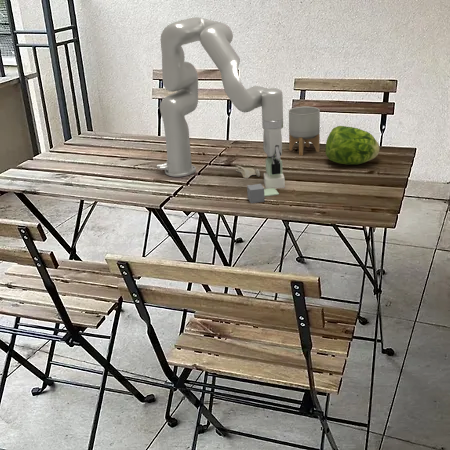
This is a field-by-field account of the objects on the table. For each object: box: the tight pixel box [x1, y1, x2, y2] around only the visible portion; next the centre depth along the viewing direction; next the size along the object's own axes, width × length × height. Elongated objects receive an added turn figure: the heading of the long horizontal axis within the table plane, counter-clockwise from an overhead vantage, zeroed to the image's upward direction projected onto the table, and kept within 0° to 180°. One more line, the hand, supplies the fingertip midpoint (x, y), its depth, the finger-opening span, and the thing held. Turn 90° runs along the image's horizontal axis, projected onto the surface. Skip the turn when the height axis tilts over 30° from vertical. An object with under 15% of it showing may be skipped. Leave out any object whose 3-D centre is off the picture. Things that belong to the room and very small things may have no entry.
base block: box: [263, 172, 286, 189], centre depth 236 cm, size 7×7×4 cm
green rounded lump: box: [325, 125, 381, 166], centre depth 251 cm, size 16×21×15 cm
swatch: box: [264, 188, 280, 198], centre depth 229 cm, size 6×6×1 cm
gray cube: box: [246, 183, 266, 204], centre depth 223 cm, size 5×5×5 cm
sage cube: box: [265, 157, 283, 176], centre depth 233 cm, size 5×5×5 cm
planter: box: [288, 106, 321, 156], centre depth 267 cm, size 13×13×18 cm
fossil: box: [235, 165, 261, 179], centre depth 248 cm, size 7×11×4 cm, turn 24°
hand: (274, 170), depth 234 cm, fingers closed on sage cube, 4 cm apart
